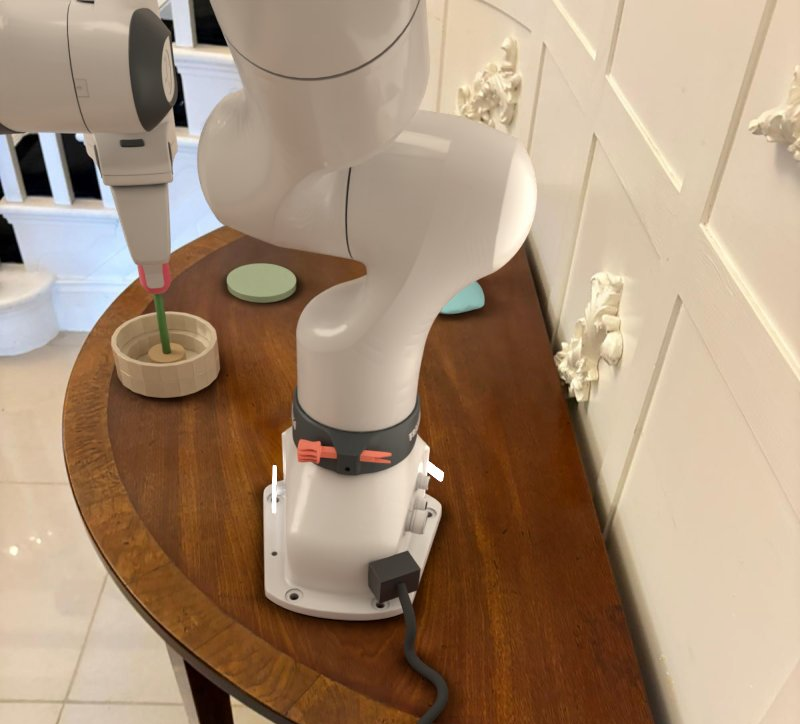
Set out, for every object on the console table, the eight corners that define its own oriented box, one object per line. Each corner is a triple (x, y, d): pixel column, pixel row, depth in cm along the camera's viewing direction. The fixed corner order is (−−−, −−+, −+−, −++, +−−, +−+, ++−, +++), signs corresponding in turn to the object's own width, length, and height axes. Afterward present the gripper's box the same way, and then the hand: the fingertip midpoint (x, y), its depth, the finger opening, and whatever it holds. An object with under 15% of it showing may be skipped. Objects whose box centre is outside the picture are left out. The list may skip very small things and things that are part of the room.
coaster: (290, 306, 111) (290, 299, 111) (220, 299, 111) (219, 292, 111) (301, 272, 118) (301, 266, 118) (235, 266, 118) (234, 260, 118)
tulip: (182, 380, 96) (165, 264, 85) (146, 377, 96) (125, 260, 85) (191, 360, 99) (176, 246, 88) (156, 357, 99) (137, 242, 88)
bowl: (207, 406, 94) (203, 370, 90) (105, 396, 93) (96, 360, 90) (229, 351, 102) (226, 316, 99) (135, 342, 102) (129, 307, 99)
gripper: (92, 97, 84) (117, 224, 94) (101, 175, 71) (128, 313, 80) (153, 96, 85) (171, 220, 95) (173, 172, 72) (191, 307, 82)
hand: (151, 263), depth 88 cm, fingers open, 8 cm apart
